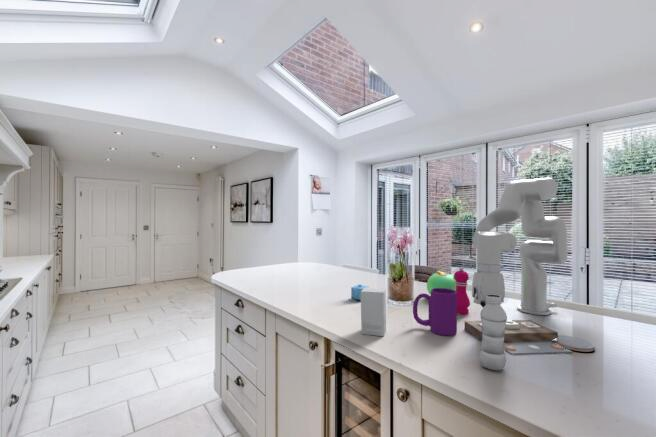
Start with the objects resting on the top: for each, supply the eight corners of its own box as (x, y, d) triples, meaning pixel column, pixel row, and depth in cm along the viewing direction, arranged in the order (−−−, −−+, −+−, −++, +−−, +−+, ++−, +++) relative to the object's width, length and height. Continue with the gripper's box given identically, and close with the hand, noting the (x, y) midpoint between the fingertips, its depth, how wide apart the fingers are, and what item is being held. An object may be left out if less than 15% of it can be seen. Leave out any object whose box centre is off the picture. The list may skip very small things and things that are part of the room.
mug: (455, 338, 107) (456, 295, 107) (410, 330, 114) (410, 289, 114) (457, 329, 115) (458, 289, 115) (415, 323, 122) (415, 285, 122)
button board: (529, 327, 118) (529, 319, 118) (557, 341, 106) (557, 332, 106) (464, 328, 116) (464, 320, 116) (484, 343, 103) (485, 334, 103)
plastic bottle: (474, 362, 89) (475, 293, 89) (496, 362, 90) (497, 293, 90) (487, 374, 83) (488, 299, 83) (511, 373, 83) (512, 298, 83)
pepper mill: (466, 310, 140) (467, 266, 140) (472, 315, 132) (472, 268, 132) (449, 309, 140) (450, 265, 140) (454, 314, 133) (455, 268, 133)
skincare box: (386, 331, 114) (387, 288, 113) (383, 337, 107) (384, 292, 107) (364, 328, 116) (364, 286, 116) (360, 334, 110) (360, 290, 110)
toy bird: (424, 295, 167) (424, 267, 167) (456, 296, 164) (457, 268, 164) (430, 304, 149) (430, 273, 149) (467, 306, 146) (467, 275, 146)
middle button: (510, 328, 113) (510, 319, 113) (519, 332, 109) (519, 323, 109) (499, 328, 113) (499, 319, 113) (507, 332, 108) (507, 323, 108)
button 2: (531, 330, 114) (531, 322, 114) (540, 335, 110) (540, 326, 110) (519, 330, 114) (520, 322, 114) (528, 335, 109) (528, 326, 109)
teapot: (358, 303, 149) (359, 288, 149) (347, 301, 152) (348, 286, 152) (369, 298, 159) (369, 283, 159) (359, 296, 163) (359, 282, 162)
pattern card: (554, 343, 103) (554, 341, 103) (572, 352, 96) (572, 350, 96) (497, 345, 102) (497, 343, 102) (511, 354, 95) (511, 352, 95)
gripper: (501, 265, 115) (501, 315, 115) (462, 266, 113) (463, 316, 114) (515, 269, 107) (515, 322, 108) (474, 270, 106) (474, 324, 106)
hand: (488, 319), depth 111 cm, fingers closed
